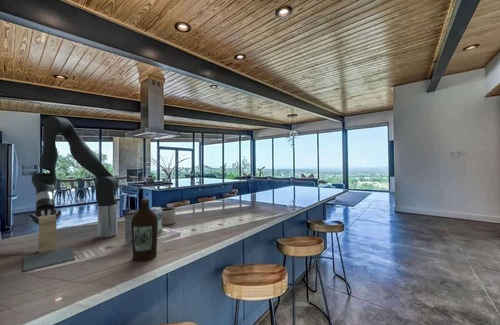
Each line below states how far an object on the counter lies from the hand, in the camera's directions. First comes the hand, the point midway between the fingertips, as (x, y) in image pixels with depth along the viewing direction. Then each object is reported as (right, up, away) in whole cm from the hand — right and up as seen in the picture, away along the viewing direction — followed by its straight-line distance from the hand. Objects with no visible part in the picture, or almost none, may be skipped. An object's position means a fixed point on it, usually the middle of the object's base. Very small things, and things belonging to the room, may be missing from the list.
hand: (46, 230), depth 116 cm
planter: (+43, -8, +45) cm, 63 cm away
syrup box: (+44, -8, +23) cm, 50 cm away
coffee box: (+41, -8, +6) cm, 42 cm away
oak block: (+5, -8, -5) cm, 11 cm away
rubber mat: (+14, -8, -14) cm, 22 cm away
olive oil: (+54, -8, -14) cm, 56 cm away
